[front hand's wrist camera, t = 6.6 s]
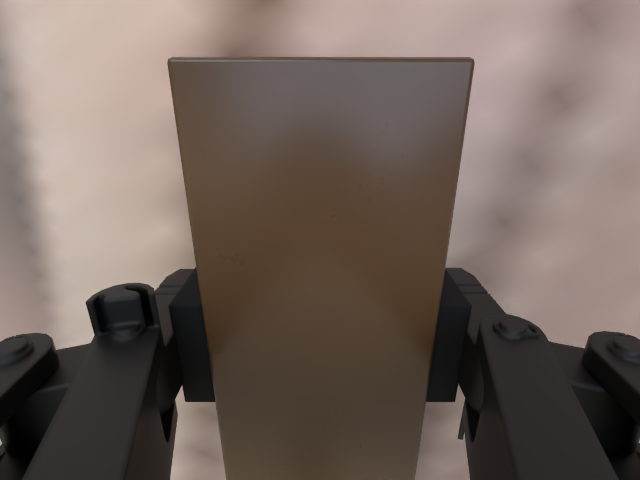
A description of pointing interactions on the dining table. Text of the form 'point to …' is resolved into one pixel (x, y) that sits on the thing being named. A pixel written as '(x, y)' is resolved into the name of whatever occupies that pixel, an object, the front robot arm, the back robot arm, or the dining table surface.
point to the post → (320, 251)
